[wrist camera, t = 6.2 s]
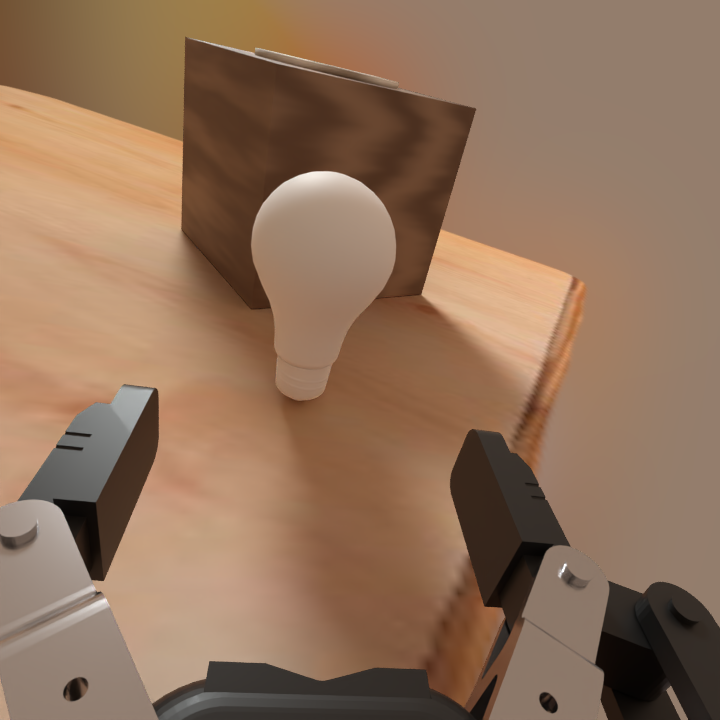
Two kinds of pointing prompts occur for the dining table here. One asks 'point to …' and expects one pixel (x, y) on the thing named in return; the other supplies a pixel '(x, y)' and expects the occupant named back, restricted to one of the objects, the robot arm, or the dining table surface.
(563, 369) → the dining table surface
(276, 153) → the lamp housing
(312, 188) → the lightbulb
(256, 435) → the dining table surface
